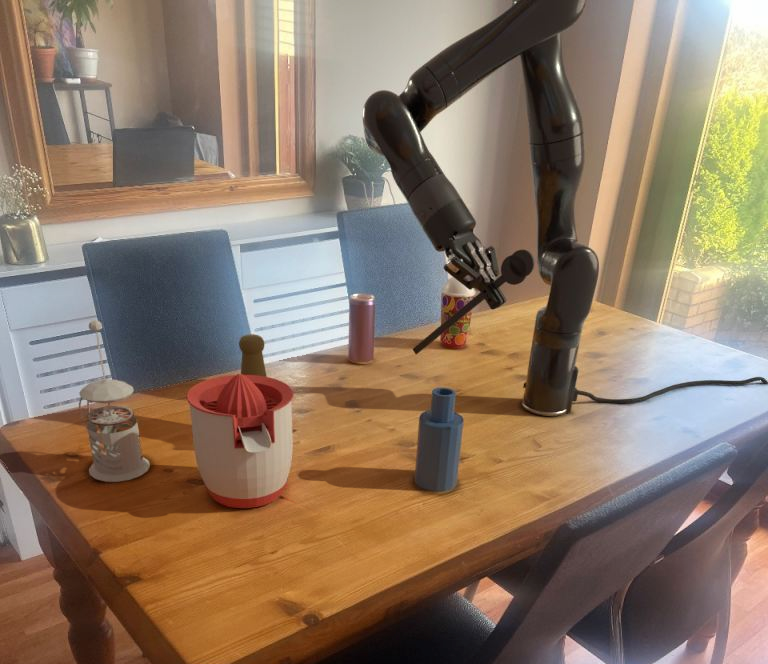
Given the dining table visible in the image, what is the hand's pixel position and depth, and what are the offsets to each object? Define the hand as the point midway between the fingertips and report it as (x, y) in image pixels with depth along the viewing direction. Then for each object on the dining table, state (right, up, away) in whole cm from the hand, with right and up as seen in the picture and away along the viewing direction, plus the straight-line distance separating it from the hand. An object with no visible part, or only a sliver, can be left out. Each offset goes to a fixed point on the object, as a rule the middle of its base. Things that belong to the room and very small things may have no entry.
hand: (499, 305), depth 114 cm
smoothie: (-1, +9, +68) cm, 69 cm away
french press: (-64, -25, +7) cm, 69 cm away
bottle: (-10, -28, +6) cm, 30 cm away
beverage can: (-24, +3, +56) cm, 61 cm away
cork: (-46, -6, +40) cm, 61 cm away
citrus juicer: (-40, -30, +1) cm, 50 cm away
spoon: (-13, -4, +13) cm, 19 cm away
